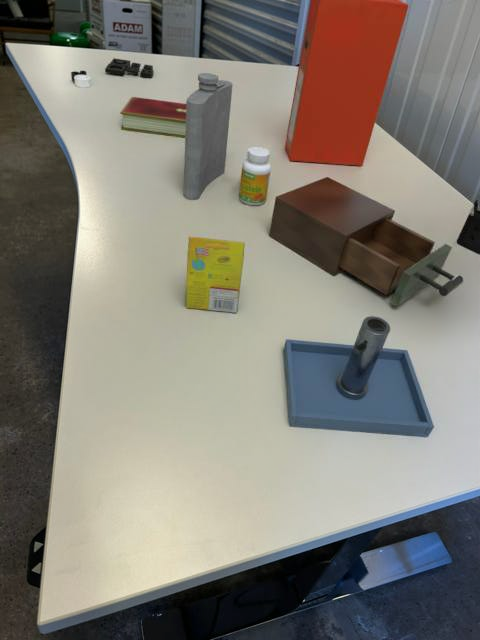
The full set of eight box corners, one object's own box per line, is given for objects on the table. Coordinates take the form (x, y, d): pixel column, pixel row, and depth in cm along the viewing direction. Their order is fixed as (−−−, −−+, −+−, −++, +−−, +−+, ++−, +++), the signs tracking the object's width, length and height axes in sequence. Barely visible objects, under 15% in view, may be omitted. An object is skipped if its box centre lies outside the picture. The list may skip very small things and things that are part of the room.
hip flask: (195, 201, 91) (201, 89, 77) (176, 195, 91) (178, 83, 78) (226, 170, 102) (236, 68, 89) (209, 165, 103) (216, 63, 90)
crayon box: (238, 300, 70) (247, 231, 62) (237, 314, 68) (247, 244, 60) (187, 295, 70) (190, 225, 62) (184, 308, 67) (188, 237, 60)
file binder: (284, 147, 115) (312, -13, 94) (353, 152, 118) (395, -2, 96) (289, 161, 109) (321, -6, 88) (362, 166, 112) (409, 5, 91)
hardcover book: (132, 112, 121) (131, 94, 118) (214, 123, 122) (216, 106, 119) (121, 129, 112) (120, 110, 109) (210, 141, 113) (211, 123, 110)
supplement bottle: (236, 203, 92) (242, 154, 85) (240, 191, 96) (246, 143, 89) (264, 208, 91) (271, 159, 85) (267, 195, 96) (275, 148, 89)
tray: (402, 360, 64) (407, 350, 63) (427, 437, 55) (434, 426, 54) (283, 349, 63) (285, 339, 62) (289, 426, 54) (292, 415, 53)
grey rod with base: (375, 386, 59) (404, 324, 53) (351, 408, 56) (378, 345, 50) (350, 369, 61) (375, 306, 54) (326, 388, 58) (348, 325, 51)
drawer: (464, 291, 77) (480, 261, 73) (424, 324, 69) (440, 292, 65) (370, 239, 85) (380, 210, 82) (326, 263, 78) (335, 233, 74)
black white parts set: (68, 88, 131) (67, 75, 129) (91, 60, 149) (90, 48, 146) (141, 100, 133) (141, 87, 130) (156, 70, 150) (156, 58, 148)
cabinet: (381, 248, 85) (395, 210, 80) (334, 276, 77) (346, 236, 72) (318, 213, 92) (327, 176, 87) (268, 235, 84) (275, 196, 79)
